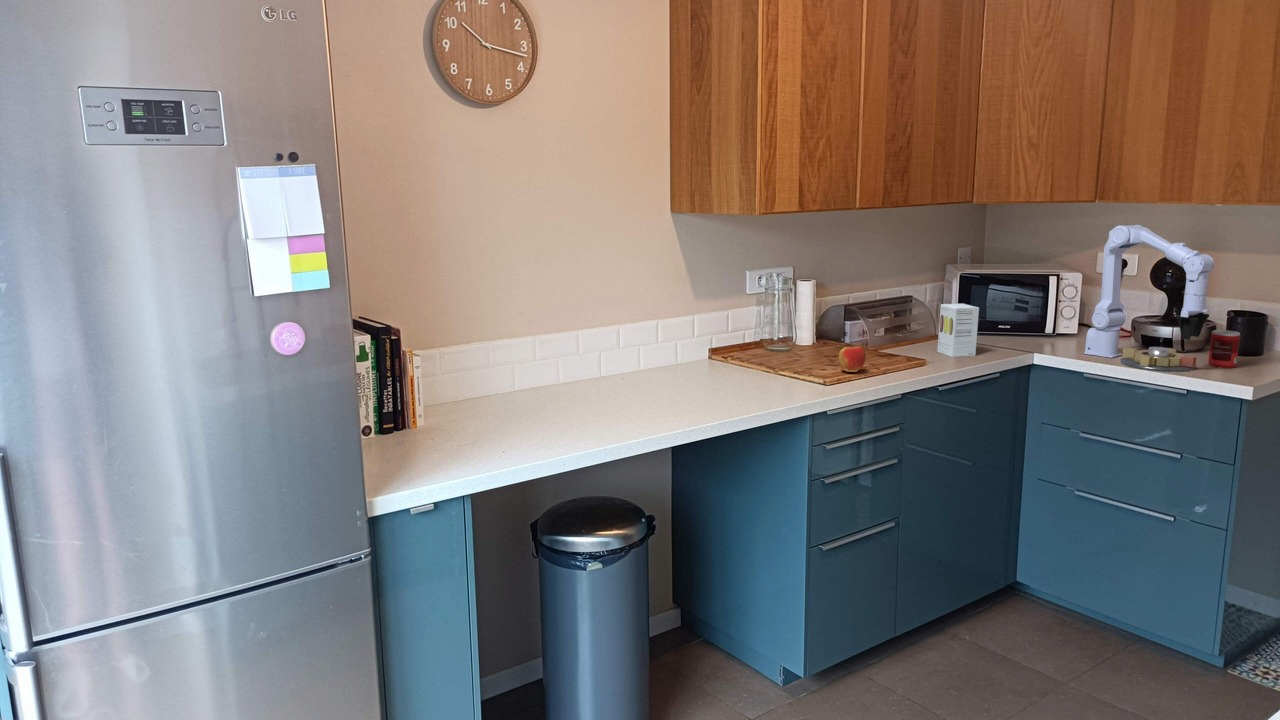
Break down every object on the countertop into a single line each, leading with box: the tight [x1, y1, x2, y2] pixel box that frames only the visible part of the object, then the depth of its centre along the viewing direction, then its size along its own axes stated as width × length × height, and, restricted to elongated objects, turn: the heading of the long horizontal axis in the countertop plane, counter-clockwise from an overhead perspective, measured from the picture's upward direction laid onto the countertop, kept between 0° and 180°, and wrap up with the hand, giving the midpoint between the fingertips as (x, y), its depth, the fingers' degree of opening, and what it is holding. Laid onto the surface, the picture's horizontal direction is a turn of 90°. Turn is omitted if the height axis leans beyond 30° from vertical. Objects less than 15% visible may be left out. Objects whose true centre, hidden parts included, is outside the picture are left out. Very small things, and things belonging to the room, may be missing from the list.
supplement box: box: [937, 303, 980, 358], centre depth 310 cm, size 10×9×17 cm
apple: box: [838, 340, 866, 370], centre depth 282 cm, size 8×8×10 cm
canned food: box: [1207, 329, 1241, 369], centre depth 289 cm, size 8×8×11 cm
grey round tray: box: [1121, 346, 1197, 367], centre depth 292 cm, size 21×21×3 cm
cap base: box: [1120, 346, 1197, 373], centre depth 293 cm, size 21×23×5 cm
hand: (1190, 337), depth 282 cm, fingers open, 7 cm apart
